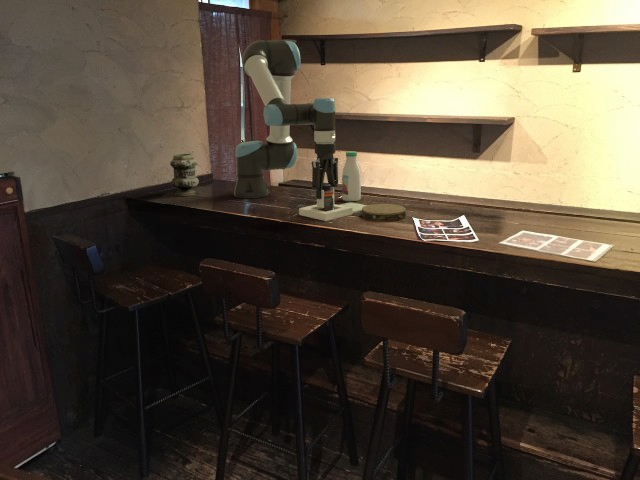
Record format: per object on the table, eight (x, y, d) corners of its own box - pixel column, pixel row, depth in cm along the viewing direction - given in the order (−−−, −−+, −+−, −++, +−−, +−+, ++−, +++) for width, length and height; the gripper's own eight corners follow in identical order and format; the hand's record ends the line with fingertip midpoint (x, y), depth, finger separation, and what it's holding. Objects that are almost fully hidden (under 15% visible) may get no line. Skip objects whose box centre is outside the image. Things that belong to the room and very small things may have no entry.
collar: (299, 214, 197) (299, 208, 196) (326, 208, 206) (325, 202, 206) (325, 221, 187) (325, 214, 187) (352, 214, 197) (352, 207, 196)
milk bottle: (360, 198, 225) (361, 150, 220) (360, 201, 218) (360, 153, 212) (342, 197, 226) (342, 150, 220) (341, 201, 218) (341, 153, 213)
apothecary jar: (196, 196, 234) (192, 155, 229) (169, 196, 234) (165, 156, 229) (202, 191, 246) (199, 152, 241) (176, 191, 246) (173, 152, 241)
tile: (329, 208, 206) (329, 207, 206) (350, 203, 214) (350, 202, 214) (352, 213, 198) (352, 211, 198) (373, 208, 206) (373, 206, 206)
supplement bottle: (337, 214, 197) (337, 184, 194) (326, 217, 193) (326, 186, 190) (325, 212, 201) (324, 182, 198) (314, 214, 197) (313, 184, 194)
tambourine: (371, 210, 204) (371, 202, 203) (411, 213, 197) (411, 205, 196) (355, 219, 190) (355, 211, 190) (397, 223, 184) (397, 215, 183)
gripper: (317, 145, 180) (319, 211, 186) (348, 140, 195) (348, 202, 201) (300, 144, 184) (302, 209, 191) (331, 139, 199) (331, 200, 205)
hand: (325, 205), depth 196 cm, fingers closed on supplement bottle, 6 cm apart
